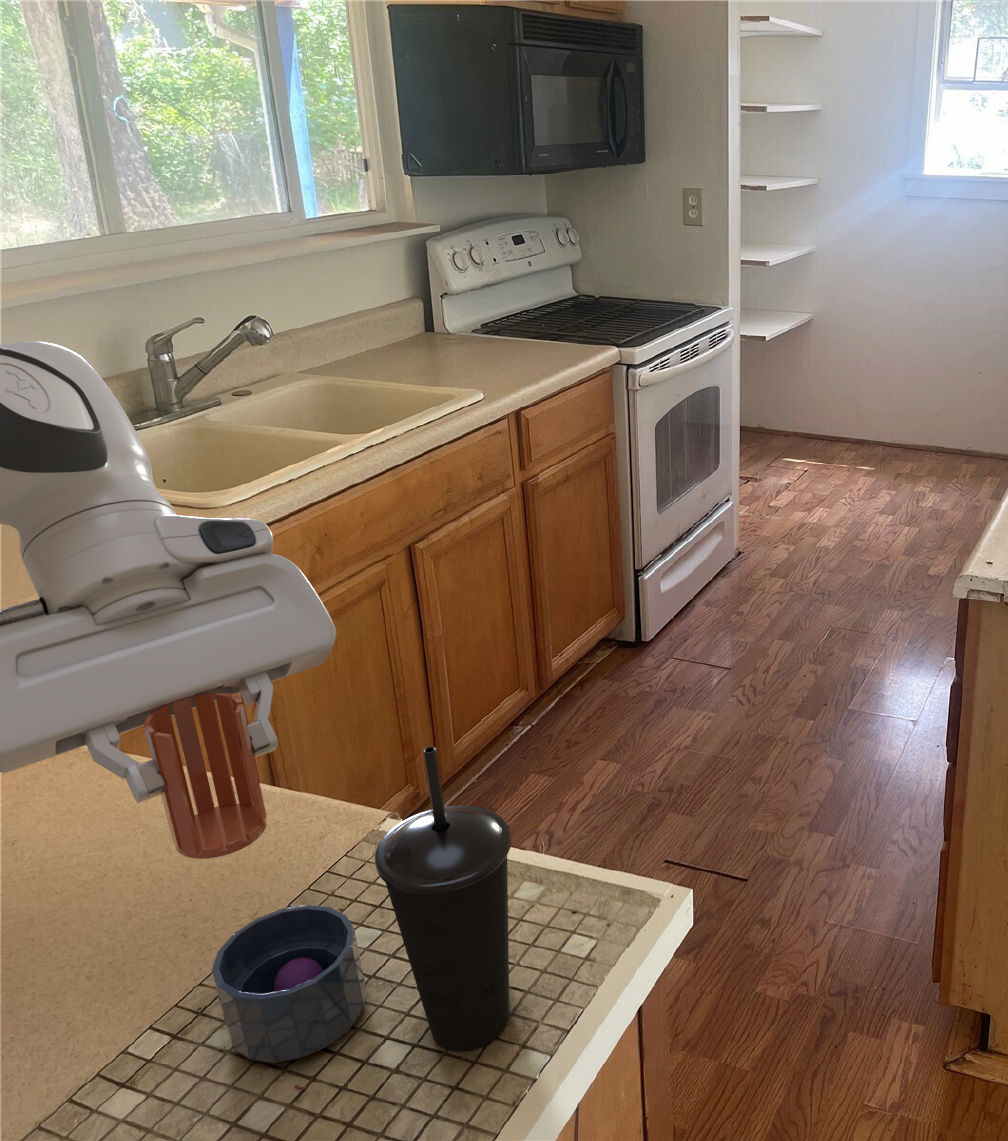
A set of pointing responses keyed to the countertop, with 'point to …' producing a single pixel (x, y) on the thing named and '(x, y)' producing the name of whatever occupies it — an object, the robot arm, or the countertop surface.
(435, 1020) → the drinking cup
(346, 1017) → the bowl
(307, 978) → the ball
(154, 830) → the countertop surface
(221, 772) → the slatted pencil cup
